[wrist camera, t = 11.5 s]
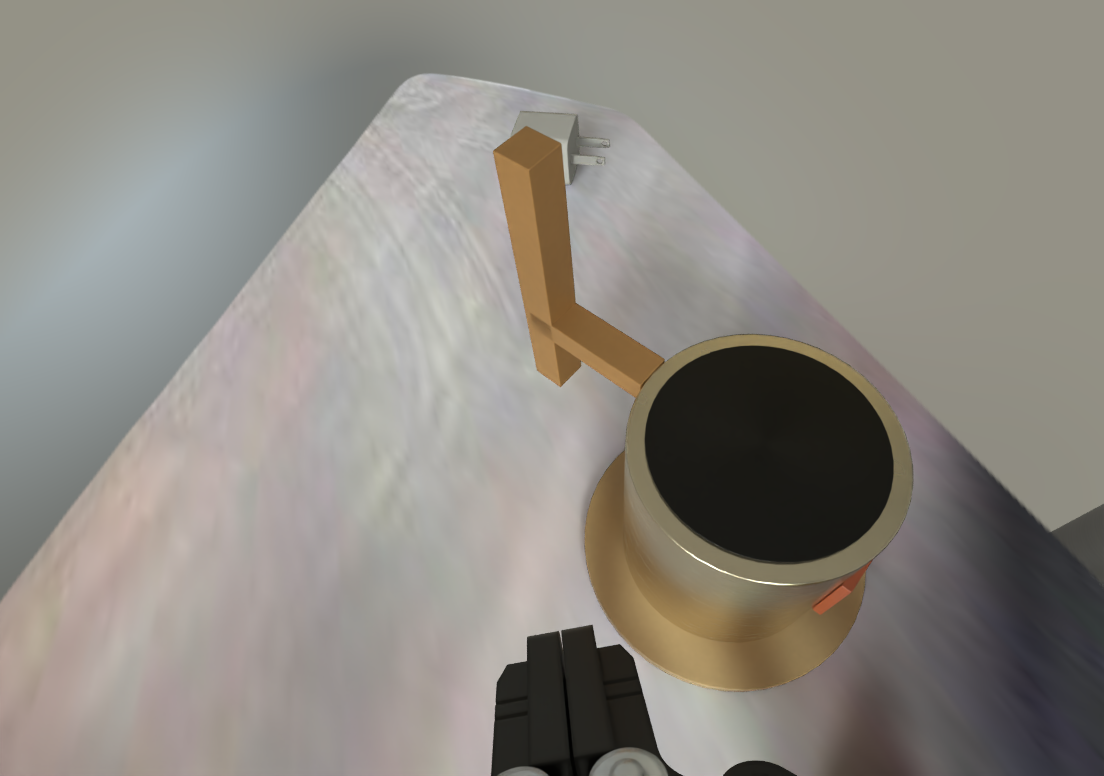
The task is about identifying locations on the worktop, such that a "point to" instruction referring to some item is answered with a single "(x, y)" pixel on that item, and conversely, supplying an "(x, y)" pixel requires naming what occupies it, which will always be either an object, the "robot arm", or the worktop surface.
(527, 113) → the usb wall charger
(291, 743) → the worktop surface
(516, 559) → the worktop surface
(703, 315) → the worktop surface
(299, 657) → the worktop surface
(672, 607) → the flanged cylinder with handle
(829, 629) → the turntable
